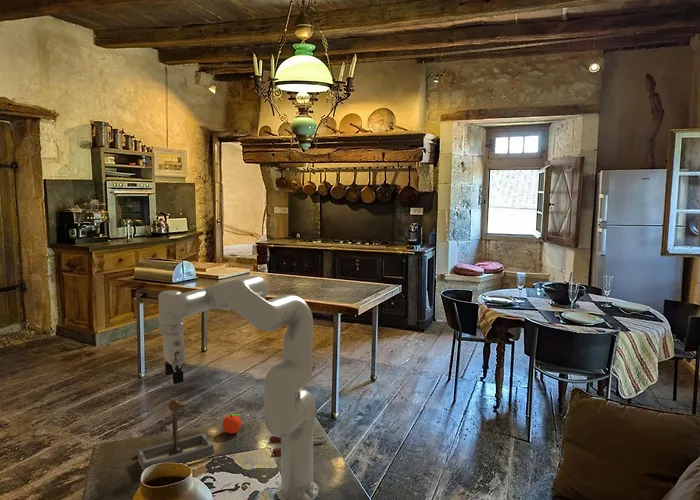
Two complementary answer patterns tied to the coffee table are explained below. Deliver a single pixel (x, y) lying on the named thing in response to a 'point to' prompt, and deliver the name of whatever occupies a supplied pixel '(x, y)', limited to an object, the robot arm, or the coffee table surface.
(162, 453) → the rectangular tray
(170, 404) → the wooden tabletop sculpture
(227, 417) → the clementine
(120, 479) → the coffee table surface
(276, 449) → the pliers
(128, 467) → the coffee table surface
